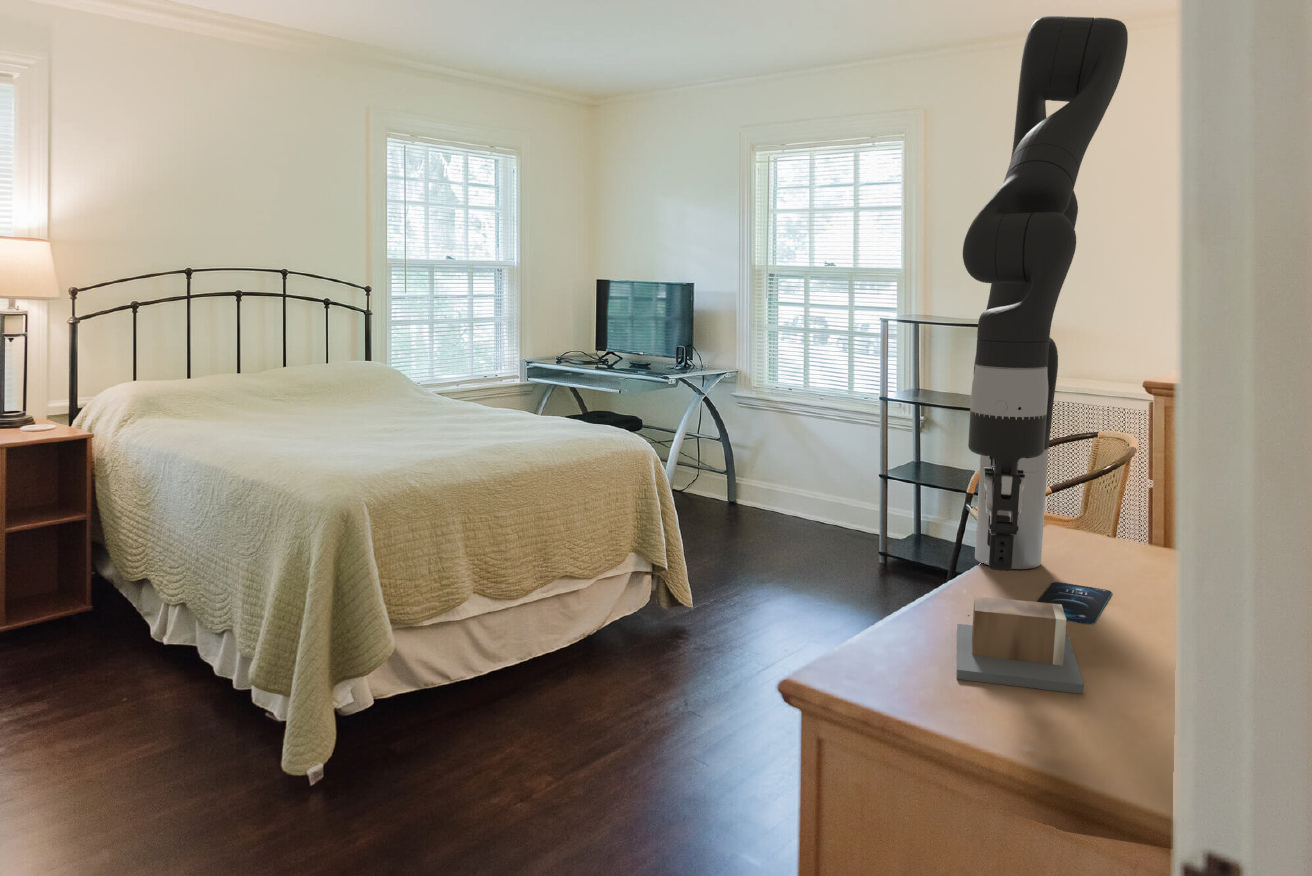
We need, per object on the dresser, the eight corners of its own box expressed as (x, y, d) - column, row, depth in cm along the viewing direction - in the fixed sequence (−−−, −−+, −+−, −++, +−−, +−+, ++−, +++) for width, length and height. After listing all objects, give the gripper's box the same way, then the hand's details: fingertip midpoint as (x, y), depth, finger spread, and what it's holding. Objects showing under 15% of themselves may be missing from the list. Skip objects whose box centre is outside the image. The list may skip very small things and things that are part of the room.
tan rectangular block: (974, 596, 104) (1061, 604, 101) (971, 638, 105) (1058, 648, 102) (974, 610, 99) (1066, 619, 97) (972, 655, 100) (1063, 665, 98)
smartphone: (1026, 612, 116) (1052, 580, 128) (1026, 617, 116) (1052, 584, 128) (1093, 624, 112) (1113, 590, 124) (1093, 629, 112) (1113, 594, 124)
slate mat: (957, 631, 110) (957, 623, 110) (1067, 643, 106) (1068, 635, 106) (956, 678, 97) (957, 669, 97) (1082, 694, 93) (1083, 684, 93)
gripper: (1052, 420, 90) (1040, 581, 93) (1041, 401, 103) (1031, 543, 106) (970, 416, 92) (961, 574, 95) (970, 398, 106) (962, 537, 108)
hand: (998, 557), depth 100 cm, fingers open, 8 cm apart
